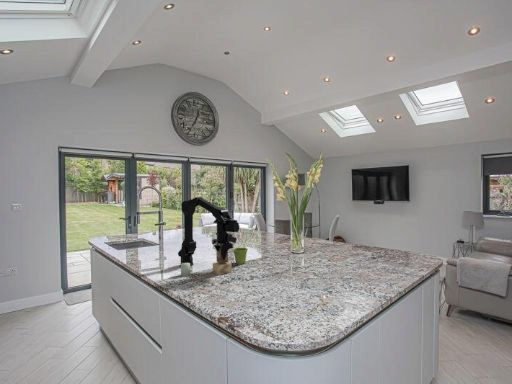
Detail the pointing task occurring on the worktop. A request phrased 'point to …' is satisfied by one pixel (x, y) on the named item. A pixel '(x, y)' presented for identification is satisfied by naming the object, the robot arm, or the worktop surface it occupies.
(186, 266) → the sage cylinder
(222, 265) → the oak block
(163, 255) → the worktop surface
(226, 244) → the robot arm
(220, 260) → the walnut cube
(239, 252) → the plant pot
